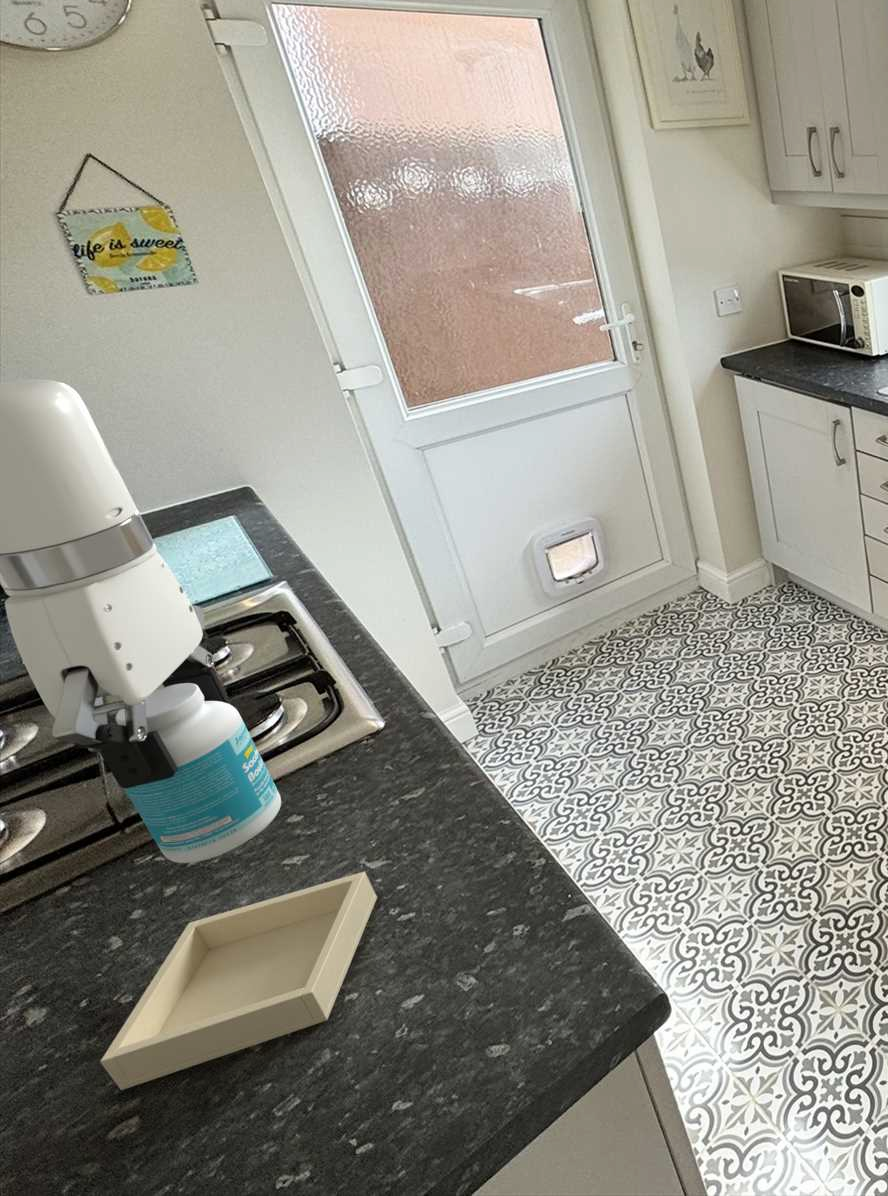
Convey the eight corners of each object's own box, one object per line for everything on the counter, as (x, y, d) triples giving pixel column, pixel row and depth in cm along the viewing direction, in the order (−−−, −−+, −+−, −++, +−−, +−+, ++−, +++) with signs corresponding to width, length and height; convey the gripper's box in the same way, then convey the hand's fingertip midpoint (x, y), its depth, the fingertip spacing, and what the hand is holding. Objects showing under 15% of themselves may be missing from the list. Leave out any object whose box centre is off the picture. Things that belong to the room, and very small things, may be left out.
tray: (120, 1090, 62) (99, 1061, 60) (205, 949, 73) (188, 922, 71) (327, 1020, 66) (311, 992, 65) (377, 897, 77) (365, 870, 76)
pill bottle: (299, 817, 67) (235, 689, 62) (182, 883, 61) (102, 748, 56) (266, 784, 71) (204, 661, 66) (154, 843, 65) (76, 714, 60)
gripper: (86, 514, 62) (181, 692, 69) (-102, 628, 47) (42, 844, 54) (204, 496, 65) (285, 670, 71) (61, 599, 50) (180, 808, 56)
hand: (180, 743), depth 62 cm, fingers closed on pill bottle, 7 cm apart
